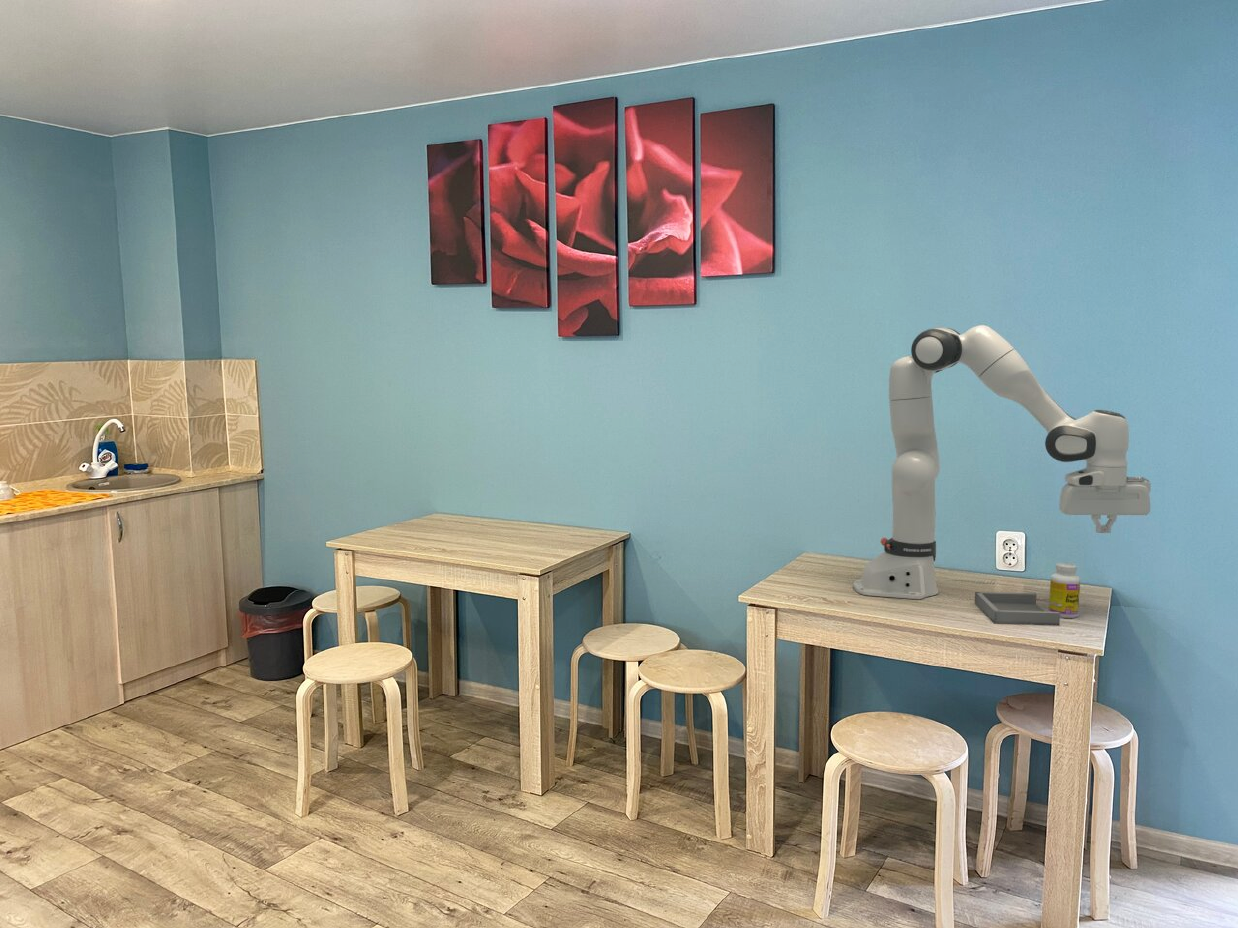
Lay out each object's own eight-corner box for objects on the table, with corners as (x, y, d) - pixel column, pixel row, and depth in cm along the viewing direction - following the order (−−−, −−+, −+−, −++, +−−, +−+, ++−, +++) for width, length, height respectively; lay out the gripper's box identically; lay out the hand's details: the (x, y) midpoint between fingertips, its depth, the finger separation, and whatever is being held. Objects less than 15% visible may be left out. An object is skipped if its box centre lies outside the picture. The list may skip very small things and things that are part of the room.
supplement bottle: (1064, 620, 228) (1067, 569, 226) (1042, 613, 234) (1045, 563, 232) (1084, 617, 230) (1087, 566, 229) (1061, 610, 236) (1064, 560, 235)
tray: (994, 623, 225) (995, 611, 225) (974, 602, 243) (975, 591, 242) (1059, 625, 223) (1060, 613, 223) (1034, 604, 241) (1035, 593, 241)
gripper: (1145, 475, 228) (1142, 530, 230) (1058, 475, 231) (1055, 529, 232) (1157, 478, 222) (1153, 535, 224) (1067, 478, 224) (1065, 534, 226)
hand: (1103, 532), depth 228 cm, fingers closed
